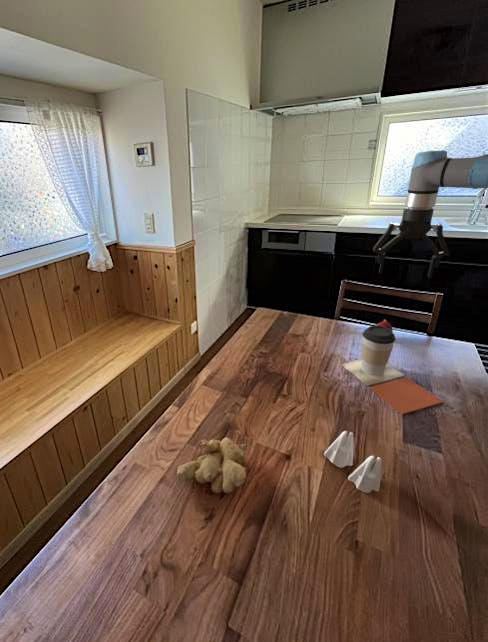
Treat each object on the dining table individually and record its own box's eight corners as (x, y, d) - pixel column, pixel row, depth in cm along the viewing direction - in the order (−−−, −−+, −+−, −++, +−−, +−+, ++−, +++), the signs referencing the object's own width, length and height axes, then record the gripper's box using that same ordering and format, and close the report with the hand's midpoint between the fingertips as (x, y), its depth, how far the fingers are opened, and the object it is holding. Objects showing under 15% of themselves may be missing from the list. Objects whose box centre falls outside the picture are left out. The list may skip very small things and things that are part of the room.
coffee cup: (360, 376, 107) (367, 335, 101) (354, 360, 115) (360, 321, 109) (391, 379, 105) (401, 337, 99) (383, 362, 113) (391, 323, 107)
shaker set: (321, 459, 80) (327, 424, 76) (333, 452, 82) (339, 417, 78) (368, 499, 71) (377, 462, 66) (380, 489, 73) (390, 452, 68)
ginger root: (265, 455, 81) (262, 436, 76) (237, 520, 71) (232, 503, 66) (209, 432, 89) (203, 413, 85) (177, 487, 79) (169, 470, 75)
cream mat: (404, 376, 107) (404, 375, 106) (367, 386, 104) (367, 385, 103) (375, 356, 117) (376, 355, 117) (341, 365, 114) (341, 364, 114)
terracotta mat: (443, 402, 95) (443, 401, 95) (402, 414, 92) (403, 413, 92) (407, 378, 106) (407, 377, 106) (370, 388, 103) (370, 387, 102)
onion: (393, 339, 127) (398, 320, 123) (384, 344, 124) (388, 325, 121) (379, 333, 131) (382, 315, 128) (370, 337, 129) (373, 319, 125)
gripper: (467, 205, 98) (448, 274, 107) (371, 205, 108) (361, 267, 117) (474, 210, 92) (454, 282, 101) (372, 209, 102) (361, 274, 111)
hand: (404, 274), depth 109 cm, fingers open, 13 cm apart
